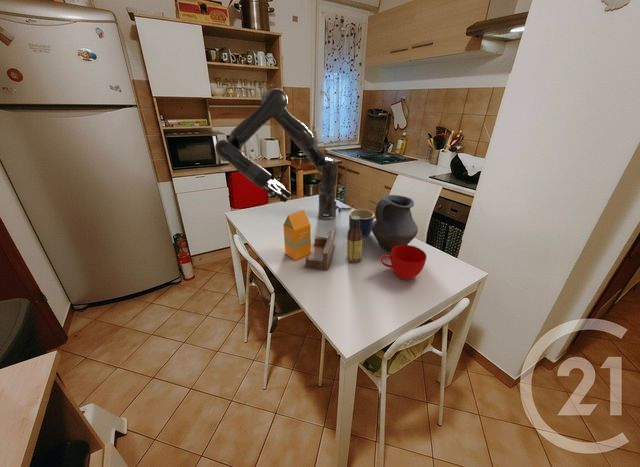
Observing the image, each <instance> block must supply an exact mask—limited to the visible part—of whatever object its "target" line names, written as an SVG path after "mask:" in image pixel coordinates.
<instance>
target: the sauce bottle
mask: <svg viewBox="0 0 640 467" xmlns="http://www.w3.org/2000/svg"><path fill="white" fill-rule="evenodd" d="M350 220H351V226H350V228H349V227H348V230H347V237H346V238H347V240H346V244H347V245H346V258H347V261H349V262H352V263H358V262H360V261H361V260H362V252H363V237H362V232H361V229H360V220H361V218H360V217H359V216H351V218H350Z"/></svg>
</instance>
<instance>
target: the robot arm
mask: <svg viewBox="0 0 640 467" xmlns="http://www.w3.org/2000/svg"><path fill="white" fill-rule="evenodd" d="M260 103H261V105H260V106H259V107H258V108H257V109H256V110H255V111H253V112H252V113H251V114H249V115H248V116H247V117H245V118H244V119H243V120H242V121H241V122H240V123H239V124H237V125H236V126H235V127H234V128H233V129H232V130H231V132H230V133H229V137H228V138H227V140H226V139H220V140H218V141H217V142H216V143H215V147H214V148H215V153H216V154H217V157H218V158H219V159H220V160H221V161H222V162H228V163H229V164H231V165H232V166H233V167H234V169H236V171H237V172H239V173H240V174H242V175H243V176H244V177H246V179H247V180H249V181H250V182H251V183H253V184H254V185H256V186H257V187H258V188H260V189H261V190H264V191H265V192H266V193H267V194H269V195H270V196H271V197H272V198H278V199H279V200H281V201H282V202H283V203H286V202H288V199H289V198H291V196H292V193H291V192H290V191H288V190H287V189H286V187H285V185H283V184H282V183H280V182H279V181H278V180H276V178H273V179H272V177H273V176H272V174H271V172H269V171H267V169H265V168H263V167H262V166H261V165H259V164H258V163H256V162H254V161H253V160H252V159H250V158H249V157H248V156H246V155H245V154H244V153H243V152H242V151H241V150H242V148H243V147H244V145H246V144H247V143H248V142H249V141H250V139H251V138H252V137H254V135H256V133H257V132H258V131H259V130H260V129H261V128H262V127H263V126H264V125H265V124H266V123H268V122H269V121H270V120H272V119H273V120H275V121H276V122H277V123H278V124H279V125H280V127H281V128H282V129H283V130H284V132H285V133H286V134H287V135H288V136H289V138H290V139H291V140H292V142H293V143H294V144H295V145H296V146H297V147H298V148H299V150H300V151H301V152H302V153H303V154H304V155H305V156H306V157H307V158H308V159H309V160H310V162H311V163H312V165H313V166H314V167H315V169H316V170H317V172H318V173H319V174H320V175H321V181H320V182H318V217H319V218H320V219H323V220H332V219H334V218H335V217H337V210H338V212H341V210H351V209H352V208H354V207H355V205H354V204H351V205H350V207H351V208H350V207H339V206H338V205H337V201H336V185H337V183H338V175H339V167H338V163H337V162H336V161H335V160H333V159H331V158H328V157H327V156H326V155H325V154H324V153H323V152H322V151H321V150H320V147H319V146H318V143H317V141H316V138H315V136H314V135H313V133H312V132H311V131H310V129H308V127H307V126H306V125H305V124H304V123H303V122H302V121H300V120H299V119H298V118H296V117H295V116H293V115H292V114H291V113H290V112H289V110H287V105H288V96H287V94H286V93H285V91H283V90H282V89H281V88H272V89H269V90H266V91H264V92H263V93H262V94H261V97H260Z"/></svg>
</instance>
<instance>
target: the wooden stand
mask: <svg viewBox="0 0 640 467" xmlns="http://www.w3.org/2000/svg"><path fill="white" fill-rule="evenodd" d="M335 232H336V231H335V230H329V234H328V236H327V237H324V236H315V237H314V247H323V251H322V258H320V257H311V256H305V268H306V269H313V270H322V271H323V270H325V271H328V268H329V265H330V263H331V262H330V261H331V258H332V255H333V251H334V248H335Z"/></svg>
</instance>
